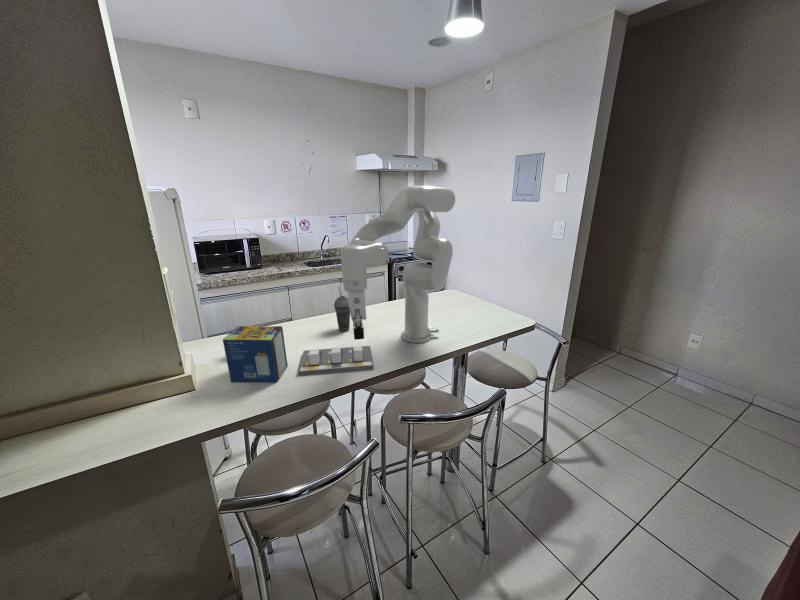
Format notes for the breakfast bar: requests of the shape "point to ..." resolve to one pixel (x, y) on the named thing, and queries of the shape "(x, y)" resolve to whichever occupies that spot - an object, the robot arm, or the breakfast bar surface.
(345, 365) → the switch panel
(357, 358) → the switch
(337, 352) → the switch middle
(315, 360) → the switch
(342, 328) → the beverage cup
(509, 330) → the breakfast bar surface
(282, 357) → the protein box
